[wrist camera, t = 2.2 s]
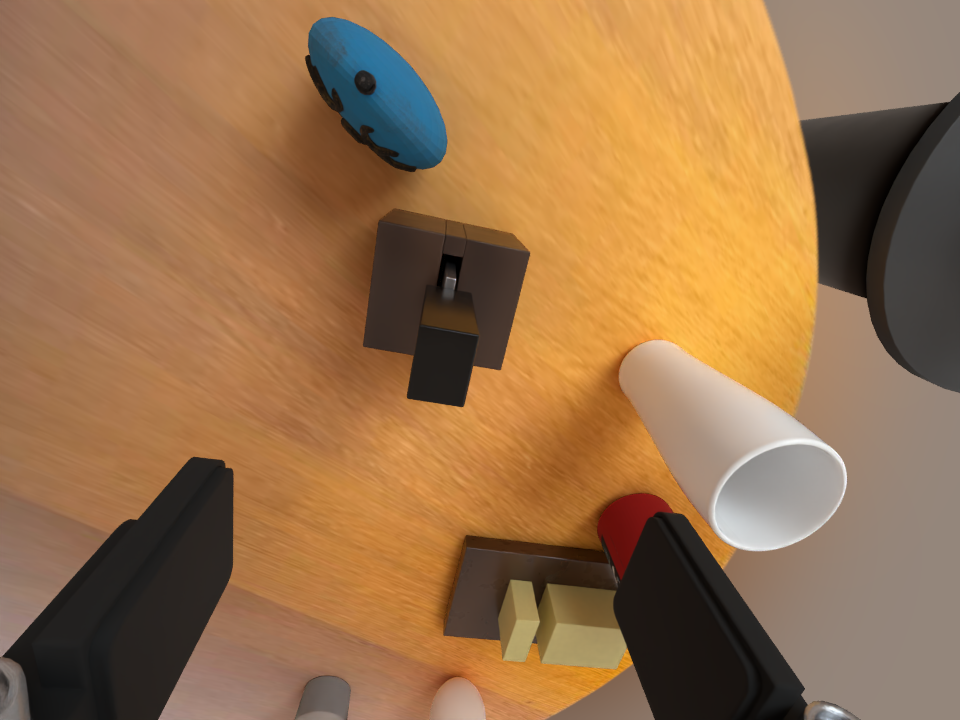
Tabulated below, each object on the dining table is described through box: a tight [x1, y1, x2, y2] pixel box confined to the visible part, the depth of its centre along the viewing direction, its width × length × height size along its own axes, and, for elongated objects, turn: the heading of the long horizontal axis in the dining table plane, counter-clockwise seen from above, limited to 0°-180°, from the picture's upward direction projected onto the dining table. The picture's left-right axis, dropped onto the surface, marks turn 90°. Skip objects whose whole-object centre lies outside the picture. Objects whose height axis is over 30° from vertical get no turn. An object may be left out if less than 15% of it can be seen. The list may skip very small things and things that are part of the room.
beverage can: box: [597, 493, 673, 586], centre depth 36 cm, size 7×7×12 cm
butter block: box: [535, 583, 627, 669], centre depth 41 cm, size 7×5×4 cm
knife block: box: [363, 209, 530, 370], centre depth 28 cm, size 8×7×7 cm
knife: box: [407, 254, 480, 407], centre depth 24 cm, size 2×4×16 cm, turn 168°
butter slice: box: [498, 580, 540, 662], centre depth 40 cm, size 2×5×4 cm, turn 167°
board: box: [443, 535, 618, 644], centre depth 43 cm, size 16×11×2 cm
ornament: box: [305, 17, 447, 172], centre depth 23 cm, size 8×5×10 cm, turn 44°
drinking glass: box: [619, 340, 847, 551], centre depth 29 cm, size 7×7×15 cm
